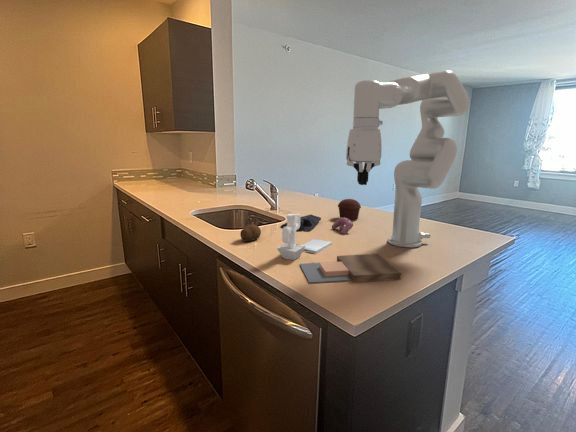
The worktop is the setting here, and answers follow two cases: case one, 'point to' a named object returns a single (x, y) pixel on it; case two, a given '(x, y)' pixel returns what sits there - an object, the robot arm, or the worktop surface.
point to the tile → (334, 269)
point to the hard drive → (316, 246)
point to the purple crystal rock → (341, 223)
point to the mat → (320, 274)
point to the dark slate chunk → (306, 223)
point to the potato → (250, 233)
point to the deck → (369, 268)
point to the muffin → (349, 209)
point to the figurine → (291, 238)
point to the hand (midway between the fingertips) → (362, 184)
